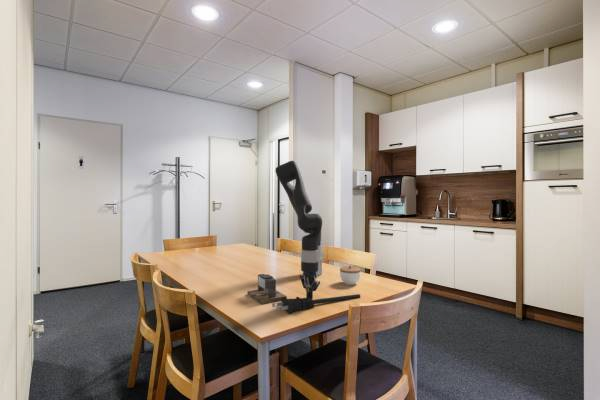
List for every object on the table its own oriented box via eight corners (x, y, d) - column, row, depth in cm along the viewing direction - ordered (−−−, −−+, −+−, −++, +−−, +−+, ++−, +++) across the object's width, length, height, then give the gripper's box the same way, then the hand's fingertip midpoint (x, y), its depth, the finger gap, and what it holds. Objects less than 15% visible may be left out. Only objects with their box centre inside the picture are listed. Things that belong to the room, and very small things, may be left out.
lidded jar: (361, 281, 170) (361, 263, 170) (359, 287, 160) (359, 268, 160) (341, 279, 173) (341, 262, 173) (338, 285, 163) (338, 267, 163)
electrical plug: (270, 309, 129) (270, 297, 129) (353, 298, 148) (353, 288, 148) (278, 316, 122) (279, 303, 122) (364, 304, 140) (365, 293, 140)
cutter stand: (247, 294, 148) (247, 275, 148) (270, 290, 154) (270, 271, 154) (261, 304, 135) (261, 283, 134) (286, 299, 141) (286, 279, 141)
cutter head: (258, 291, 146) (258, 275, 146) (268, 289, 149) (268, 273, 149) (264, 295, 140) (264, 278, 140) (275, 293, 143) (274, 277, 143)
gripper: (294, 258, 141) (294, 297, 141) (310, 263, 129) (310, 306, 130) (308, 256, 145) (308, 294, 145) (325, 261, 133) (325, 302, 134)
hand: (309, 299), depth 137 cm, fingers closed
